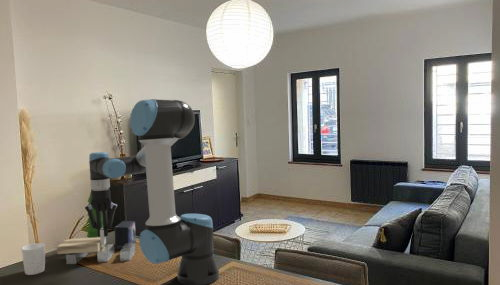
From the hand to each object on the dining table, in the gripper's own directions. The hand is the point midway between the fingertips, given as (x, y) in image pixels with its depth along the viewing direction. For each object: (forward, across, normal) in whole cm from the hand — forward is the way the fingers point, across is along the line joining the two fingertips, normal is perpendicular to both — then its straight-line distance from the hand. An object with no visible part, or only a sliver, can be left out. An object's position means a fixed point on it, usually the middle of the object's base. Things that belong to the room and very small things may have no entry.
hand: (103, 243), depth 160 cm
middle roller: (+6, +1, 0) cm, 6 cm away
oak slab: (+2, -9, 0) cm, 9 cm away
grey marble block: (+6, -11, 0) cm, 13 cm away
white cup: (+6, -23, -11) cm, 26 cm away
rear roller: (+6, +10, 0) cm, 12 cm away
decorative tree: (+6, -7, +16) cm, 18 cm away
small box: (+6, +6, +14) cm, 16 cm away
